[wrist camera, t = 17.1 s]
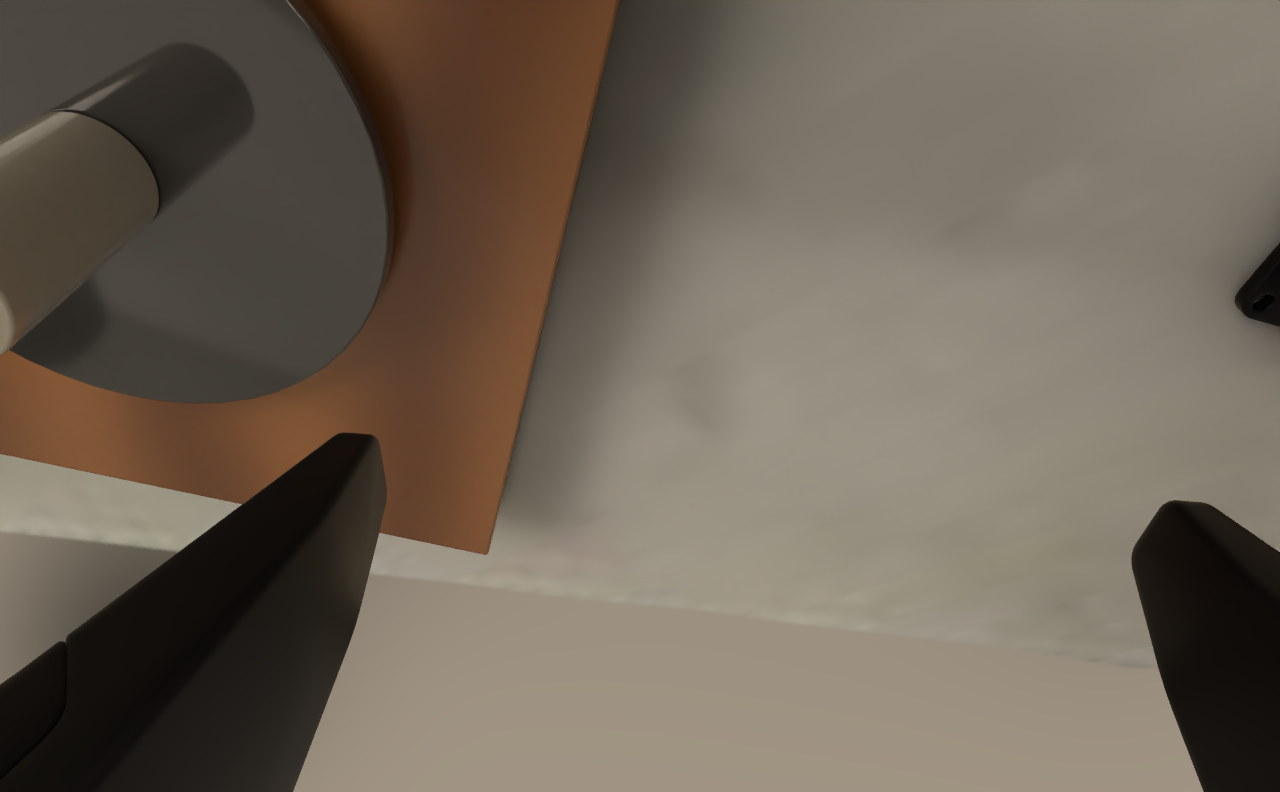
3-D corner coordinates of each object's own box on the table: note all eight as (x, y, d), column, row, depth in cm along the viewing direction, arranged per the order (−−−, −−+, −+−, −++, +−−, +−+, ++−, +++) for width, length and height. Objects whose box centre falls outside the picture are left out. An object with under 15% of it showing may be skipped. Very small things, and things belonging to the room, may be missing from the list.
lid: (128, -336, 13) (-191, -386, 8) (499, 295, 20) (443, 464, 15) (-346, -17, 16) (-769, 78, 12) (116, 429, 24) (-29, 602, 19)
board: (663, -179, 16) (660, -169, 14) (500, 500, 28) (487, 556, 26) (-362, -525, 14) (-535, -572, 12) (-59, 378, 26) (-119, 430, 24)
